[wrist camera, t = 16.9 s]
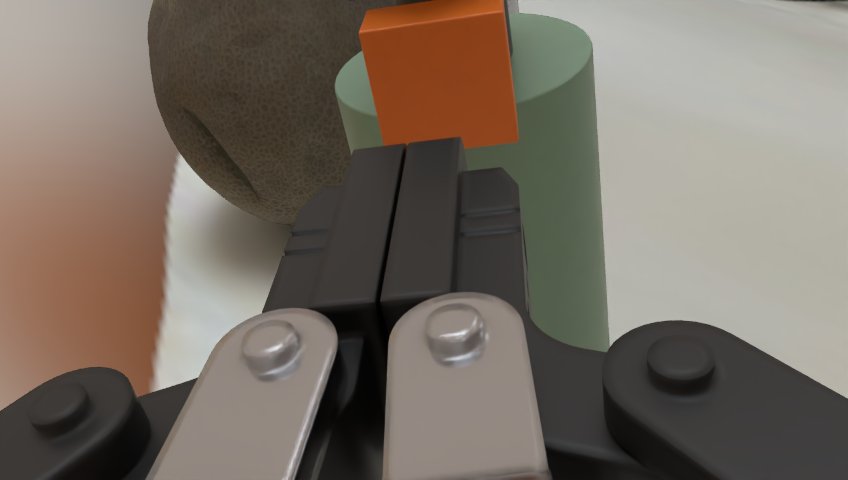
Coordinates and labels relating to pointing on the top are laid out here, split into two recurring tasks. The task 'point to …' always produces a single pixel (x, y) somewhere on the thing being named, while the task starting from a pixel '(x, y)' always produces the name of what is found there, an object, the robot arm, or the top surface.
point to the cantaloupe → (257, 94)
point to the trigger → (441, 72)
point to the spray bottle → (536, 169)
